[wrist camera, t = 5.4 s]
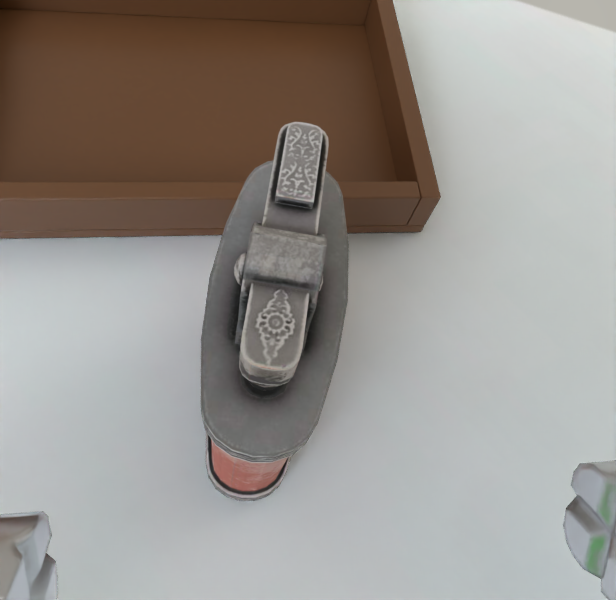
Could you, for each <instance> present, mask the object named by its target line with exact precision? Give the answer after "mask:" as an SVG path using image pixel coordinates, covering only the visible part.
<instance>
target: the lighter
mask: <svg viewBox="0 0 616 600" xmlns="http://www.w3.org/2000/svg"><path fill="white" fill-rule="evenodd" d="M328 146H329V143H328V136H327V135H326V133H325V132H324V131H323V130H322V129H321V128H319V127H318V126H316V125H312V124H308V123H303V122H293V123H289V124H285V125H284V126H283V127H282V128H281V129H280V132H279V135H278V139H277V145H276V150H275V156H274V160H273V161H268V162H266V163H264V164H262V165H260V166H258V167H256V168H255V169H254V170H253V171H252V172H251V174H250V175H249V176H248V177H247V179H246V181H245V184H244V186H243V188H242V190H241V192H240V194H239V196H238V199H237V201H236V203H235V205H234V207H233V209H232V211H231V214H230V216H229V218H228V220H227V222H226V225H225V228H224V232H223V235H222V238H221V242H220V245H219V248H218V251H217V255H216V258H215V261H214V264H213V268H212V271H211V274H210V278H209V285H208V293H207V300H206V307H205V315H204V322H203V329H202V337H201V412H202V418H203V422H204V427H205V430H206V467H207V472H208V477H209V479H210V481H211V482H212V484H213V485H214V487H215V488H216V489H217V490H218V491H220V492H221V493H222V494H224V495H225V496H227V497H229V498H232V499H236V500H239V501H255V500H258V499H260V498H263V497H266V496H268V495H269V494H270V493H272V492H273V491H274V490H275V489H277V488H278V486H279V484H280V483H281V481H282V479H283V478H284V476H285V474H286V472H287V468H288V465H289V462H290V459H291V456H292V454H294V453H295V452H296V451H298V450H299V449H300V448H301V447H303V446H304V445H305V444H306V442H307V440H308V439H309V437H310V435H311V434H312V432H313V430H314V428H315V427H316V425H317V423H318V420H319V417H320V414H321V411H322V408H323V404H324V401H325V398H326V395H327V391H328V388H329V385H330V382H331V379H332V375H333V372H334V369H335V366H336V363H337V358H338V353H339V347H340V341H341V335H342V330H343V324H344V318H345V313H346V307H347V301H348V246H349V244H348V236H347V228H346V219H345V211H344V203H343V195H342V192H341V190H340V187H339V184H338V183H337V182H336V180H335V179H334V178H333V177H332V176H331V175H330V174H329V173H328V172H327V171H325V170H326V162H327V154H328Z"/></svg>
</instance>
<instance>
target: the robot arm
mask: <svg viewBox="0 0 616 600" xmlns="http://www.w3.org/2000/svg"><path fill="white" fill-rule="evenodd" d="M571 486H572V488H573V490H574V491H575V493H576V495H577V496H576V497H575V498H574V500H573V501H572V502H571V503H570V504H569V505H568V506H567V508H566V511H565V518H564V524H563V526H564V531H565V537H566V542H567V544H568V547H569V549H570V551H571V553H572V555H573V557H574V558H575V559H576V560H577V562H578V563H579V564H580V566H581V567H582V568H583V569H584V570H586V571H588V572H590V573H591V574H593V575H595V576H597V577H599V578H600V579H601V592H602V593H603V594H604V596H605V597H606V598H607V599H608V600H616V460H612V461H601V462H591V463H580V464H579V465H578V467H577V468H576V469H575V471H574V473H573V477H572V482H571ZM51 536H52V534H51V529H50V524H49V518H48V515H47V514H46V513H45V512H43V511H42V512H28V513H13V514H0V600H57V596H58V575H57V568H56V561H55V560H54V559H52V558H51V557H50V556H49V555H48V554H47V553H46V551H47V548H48V545H49V542H50V539H51Z"/></svg>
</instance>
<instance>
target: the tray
mask: <svg viewBox="0 0 616 600" xmlns="http://www.w3.org/2000/svg"><path fill="white" fill-rule="evenodd" d="M293 122H303V123H308V124H312V125H316V126H318V127H319V128H321V129H322V130H323V131H324V132H325V133H326V135H327V136H328V143H329V146H328V154H327V162H326V170H325V171H327V172H328V173H329V174H330V175H331V176H332V177H333V178H334V179H335V180H336V182H337V183H338V184H339V187H340V190H341V192H342V195H343V203H344V211H345V219H346V228H347V233H371V232H420V231H421V230H422V229H423V227H424V225H425V224H426V222H427V220H428V218H429V217H430V215H431V213H432V212H433V210H434V208H435V206H436V205H437V203H438V201H439V199H440V197H441V196H440V192H439V188H438V184H437V180H436V176H435V172H434V168H433V164H432V159H431V155H430V151H429V147H428V143H427V139H426V135H425V131H424V127H423V123H422V119H421V115H420V111H419V106H418V102H417V98H416V94H415V90H414V86H413V82H412V78H411V74H410V70H409V66H408V62H407V58H406V53H405V49H404V45H403V41H402V37H401V33H400V29H399V25H398V21H397V17H396V13H395V9H394V5H393V0H0V239H3V238H64V237H126V236H187V235H223V232H224V228H225V225H226V222H227V220H228V218H229V216H230V214H231V211H232V209H233V207H234V205H235V203H236V201H237V199H238V196H239V194H240V192H241V190H242V188H243V186H244V184H245V181H246V179H247V177H248V176H249V175H250V174H251V172H252V171H253V170H254V169H255V168H256V167H258V166H260V165H262V164H264V163H266V162H268V161H273V160H274V156H275V150H276V145H277V139H278V135H279V132H280V129H281V128H282V127H283V126H284V125H285V124H289V123H293Z"/></svg>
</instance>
